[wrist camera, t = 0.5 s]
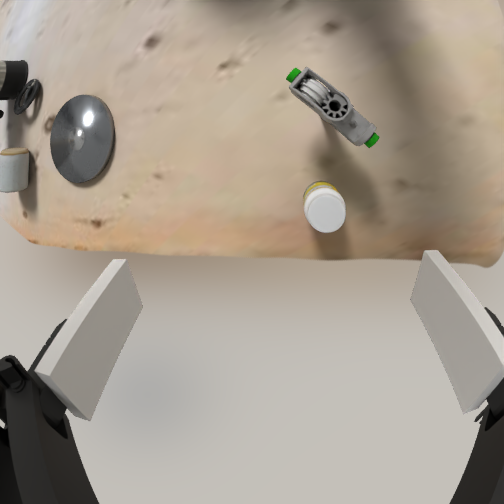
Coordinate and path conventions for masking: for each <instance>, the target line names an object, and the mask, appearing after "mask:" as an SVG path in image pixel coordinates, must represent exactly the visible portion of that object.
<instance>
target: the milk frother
mask: <svg viewBox="0 0 504 504" xmlns="http://www.w3.org/2000/svg"><path fill="white" fill-rule="evenodd" d="M27 73H28V66H27V63H26V61H24V60H21V61H0V100H9V99H15V98H16V101H15V105H14V112H15V114H17V115H19V114H21V113H23V112H24V111H25V110H26V109H27V108H28V107H29V106H30V104H31V103H32V102H33V100H34V98H35V97H36V95H37V93H38V90H39V86H40V83H39V81H38V80H37V79H32V80H30V81H29V82H28V83H27V84H26V85H25V82H26V79H27ZM24 85H25V87H24ZM26 90H27V92H26ZM25 92H26V95H25V100H24V102H23V106H21V107H20V101H21V99H22V97H23V95H24V93H25ZM3 114H4V112H3V111H2V110H0V118H2V117H3Z"/></svg>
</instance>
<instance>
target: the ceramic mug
mask: <svg viewBox="0 0 504 504" xmlns="http://www.w3.org/2000/svg"><path fill="white" fill-rule="evenodd" d="M28 173H29V151H28V149H27V148H8V149H4V150H2V151H1V153H0V192H5V193H9V192H17V191H21V190H23V189H26V188H27V187H28Z"/></svg>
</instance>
